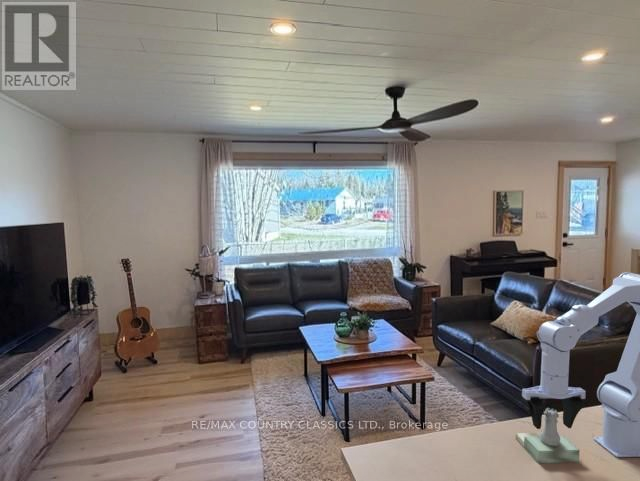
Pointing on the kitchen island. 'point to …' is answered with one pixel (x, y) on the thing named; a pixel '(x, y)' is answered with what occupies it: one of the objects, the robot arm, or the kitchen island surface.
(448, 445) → the kitchen island surface
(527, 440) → the stepped riser
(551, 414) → the rook chess piece
